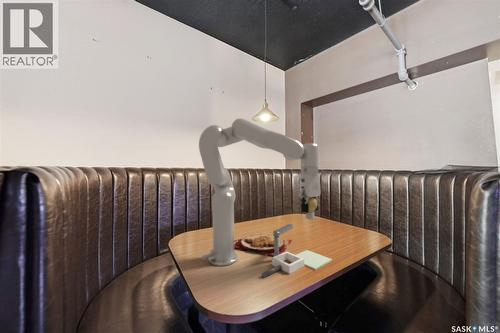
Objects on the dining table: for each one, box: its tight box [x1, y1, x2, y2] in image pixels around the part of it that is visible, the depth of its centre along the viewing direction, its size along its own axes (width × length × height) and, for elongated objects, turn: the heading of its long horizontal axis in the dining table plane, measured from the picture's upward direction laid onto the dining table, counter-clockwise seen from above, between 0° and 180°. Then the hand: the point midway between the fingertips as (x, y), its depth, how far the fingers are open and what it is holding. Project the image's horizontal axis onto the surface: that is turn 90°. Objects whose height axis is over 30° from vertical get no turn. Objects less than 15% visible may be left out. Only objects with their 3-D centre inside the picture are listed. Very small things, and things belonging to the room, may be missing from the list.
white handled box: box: [261, 236, 305, 278], centre depth 79 cm, size 20×12×10 cm, turn 129°
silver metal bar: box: [272, 223, 294, 237], centre depth 92 cm, size 3×16×2 cm, turn 143°
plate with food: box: [234, 233, 293, 257], centre depth 105 cm, size 25×26×4 cm
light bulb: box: [304, 197, 317, 221], centre depth 87 cm, size 6×6×10 cm
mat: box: [295, 249, 333, 271], centre depth 86 cm, size 13×13×1 cm
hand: (309, 210), depth 87 cm, fingers closed on light bulb, 6 cm apart
